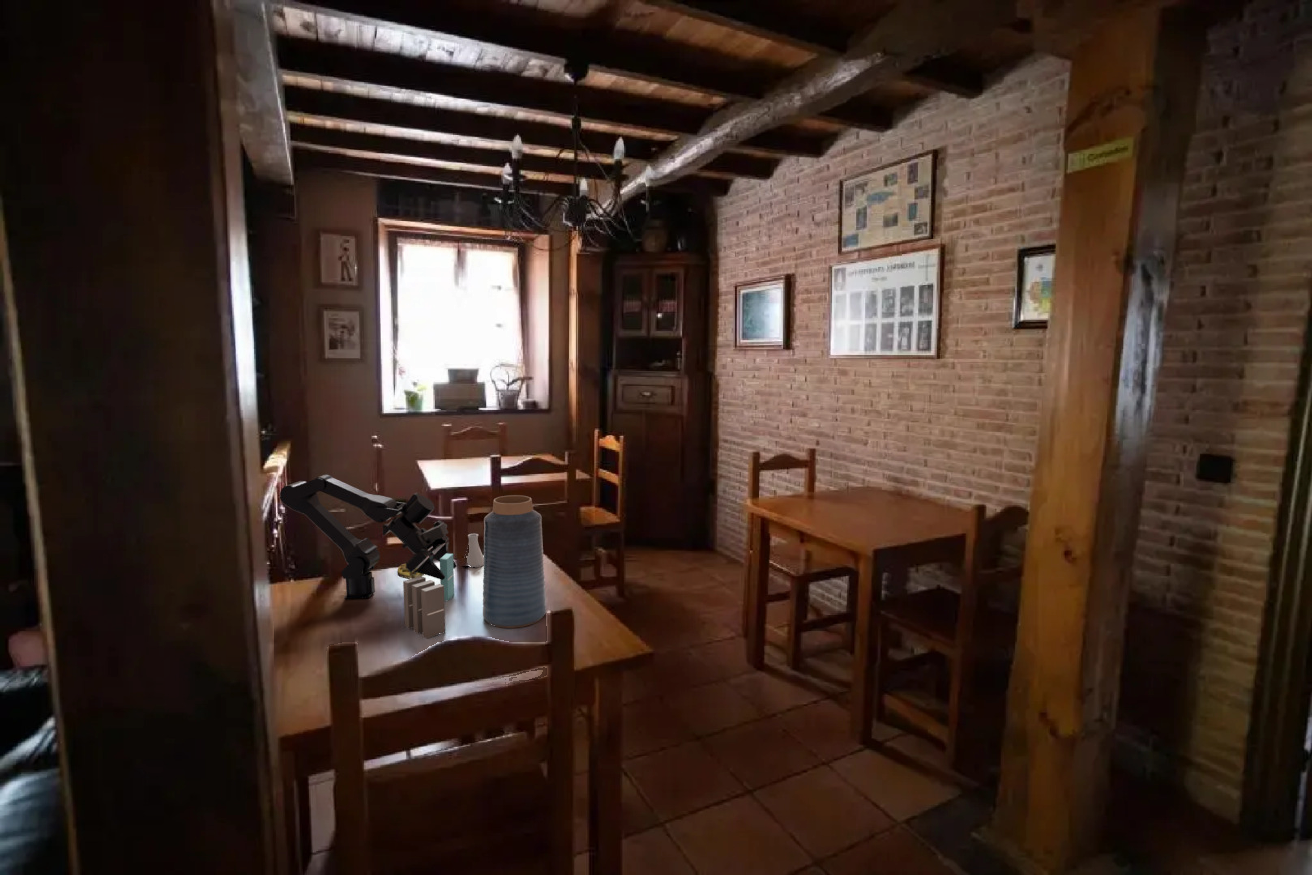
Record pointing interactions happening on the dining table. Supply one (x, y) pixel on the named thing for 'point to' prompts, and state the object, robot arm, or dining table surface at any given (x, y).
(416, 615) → the domino
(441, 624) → the domino
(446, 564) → the teal domino
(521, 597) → the vase
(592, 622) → the dining table surface
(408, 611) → the domino
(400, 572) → the seal
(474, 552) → the flask
